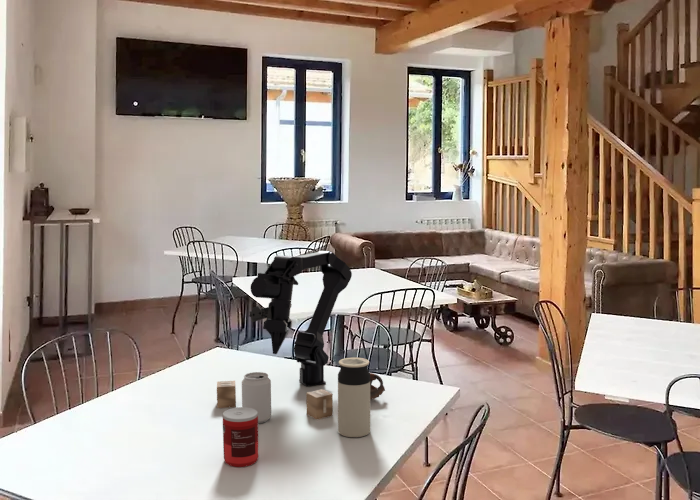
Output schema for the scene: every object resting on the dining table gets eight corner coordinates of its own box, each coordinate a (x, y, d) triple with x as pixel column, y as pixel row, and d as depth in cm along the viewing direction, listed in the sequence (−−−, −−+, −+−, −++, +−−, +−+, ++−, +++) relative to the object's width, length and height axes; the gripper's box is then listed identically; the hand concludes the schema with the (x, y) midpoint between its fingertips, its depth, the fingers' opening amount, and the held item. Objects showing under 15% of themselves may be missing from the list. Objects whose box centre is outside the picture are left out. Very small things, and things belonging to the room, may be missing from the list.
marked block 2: (322, 410, 185) (322, 388, 185) (332, 416, 181) (332, 393, 180) (306, 414, 182) (306, 392, 182) (316, 420, 178) (316, 397, 178)
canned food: (240, 450, 159) (239, 404, 157) (266, 458, 154) (265, 411, 153) (216, 462, 152) (214, 414, 151) (242, 470, 148) (241, 421, 147)
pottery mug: (386, 394, 200) (390, 375, 195) (376, 418, 192) (379, 398, 188) (347, 381, 202) (350, 362, 198) (336, 404, 195) (339, 384, 190)
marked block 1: (235, 401, 193) (235, 380, 192) (235, 407, 188) (235, 385, 188) (217, 402, 192) (216, 381, 192) (217, 408, 187) (216, 386, 187)
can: (266, 425, 174) (265, 379, 173) (238, 423, 176) (237, 378, 174) (275, 415, 181) (274, 371, 180) (248, 413, 183) (247, 370, 182)
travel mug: (359, 440, 164) (359, 367, 162) (331, 434, 168) (331, 362, 166) (376, 430, 171) (376, 359, 169) (349, 424, 175) (348, 355, 173)
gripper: (258, 295, 205) (251, 347, 205) (248, 296, 187) (241, 353, 186) (295, 300, 205) (288, 352, 204) (288, 301, 187) (281, 358, 186)
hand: (274, 354), depth 195 cm, fingers closed
